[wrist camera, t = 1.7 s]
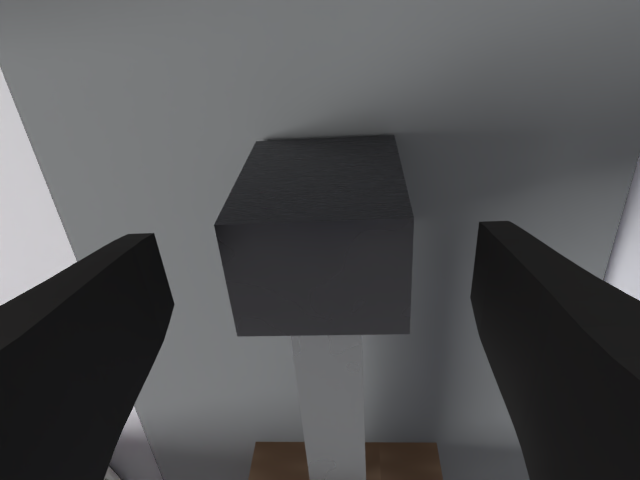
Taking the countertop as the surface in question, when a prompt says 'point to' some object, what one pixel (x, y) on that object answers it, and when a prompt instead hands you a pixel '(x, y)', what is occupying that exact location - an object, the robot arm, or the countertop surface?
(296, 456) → the block
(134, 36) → the mat
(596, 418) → the robot arm
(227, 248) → the hook rod
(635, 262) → the countertop surface
